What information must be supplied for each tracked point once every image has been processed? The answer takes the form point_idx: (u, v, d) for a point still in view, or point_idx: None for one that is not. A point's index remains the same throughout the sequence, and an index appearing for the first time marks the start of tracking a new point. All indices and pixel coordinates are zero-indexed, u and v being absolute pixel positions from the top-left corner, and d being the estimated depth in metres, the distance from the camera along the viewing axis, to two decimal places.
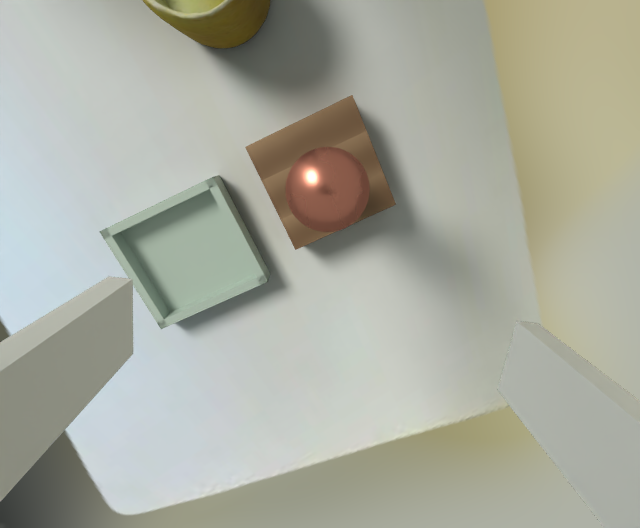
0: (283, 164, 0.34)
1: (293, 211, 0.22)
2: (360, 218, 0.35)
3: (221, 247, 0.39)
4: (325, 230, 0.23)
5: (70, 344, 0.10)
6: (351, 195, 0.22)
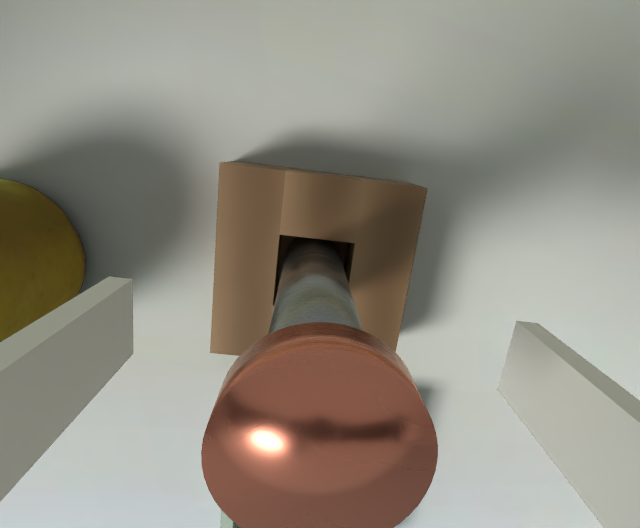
0: (263, 317, 0.20)
1: None
2: (410, 255, 0.20)
3: None
4: (409, 508, 0.08)
5: (71, 344, 0.10)
6: (368, 418, 0.08)
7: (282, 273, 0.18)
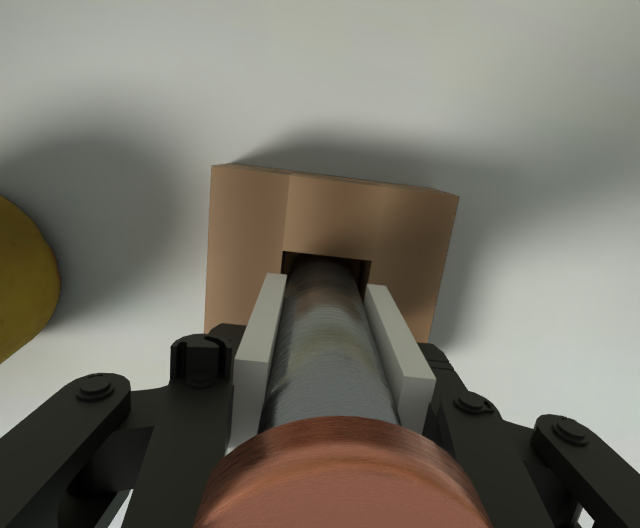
0: None
1: None
2: (438, 275, 0.17)
3: None
4: None
5: (277, 326, 0.12)
6: None
7: (285, 299, 0.15)
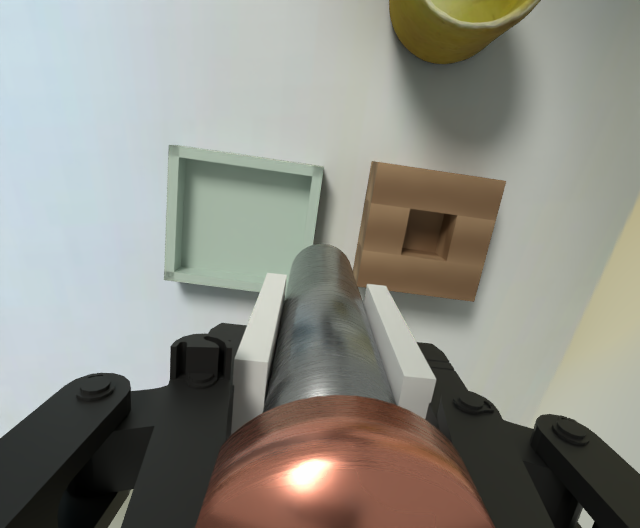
0: (402, 201, 0.30)
1: None
2: (435, 294, 0.32)
3: (278, 235, 0.34)
4: None
5: (277, 326, 0.12)
6: None
7: (287, 294, 0.15)
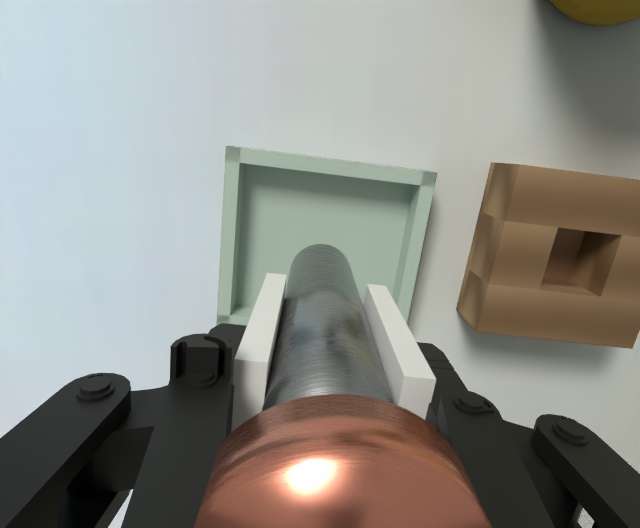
0: (547, 218, 0.22)
1: None
2: (580, 340, 0.24)
3: (363, 263, 0.25)
4: None
5: (277, 326, 0.12)
6: None
7: (286, 294, 0.15)
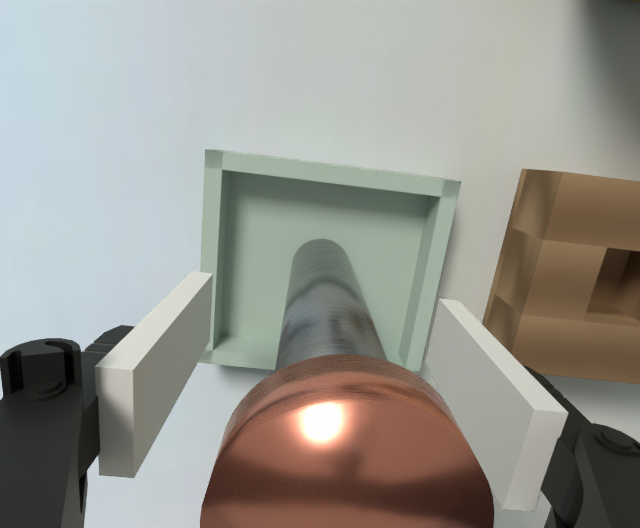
0: (594, 236, 0.18)
1: None
2: (629, 380, 0.20)
3: (370, 286, 0.22)
4: None
5: (182, 329, 0.11)
6: (409, 480, 0.06)
7: (290, 284, 0.16)
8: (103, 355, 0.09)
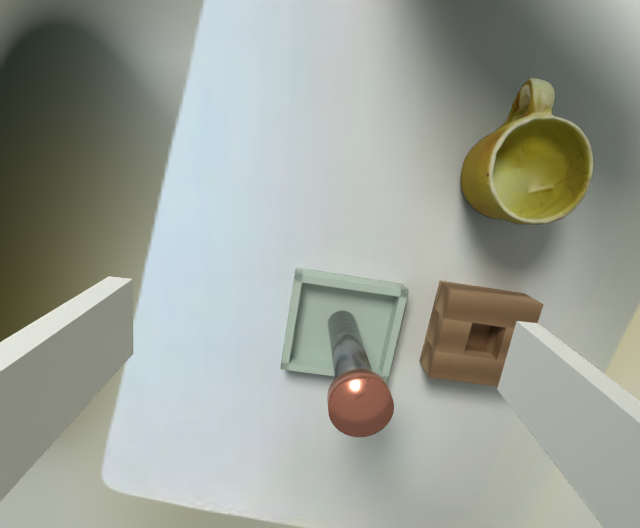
0: (466, 318, 0.41)
1: (358, 435, 0.29)
2: (487, 383, 0.43)
3: (366, 334, 0.44)
4: (385, 424, 0.29)
5: (70, 344, 0.10)
6: (375, 396, 0.28)
7: (332, 337, 0.38)
8: None
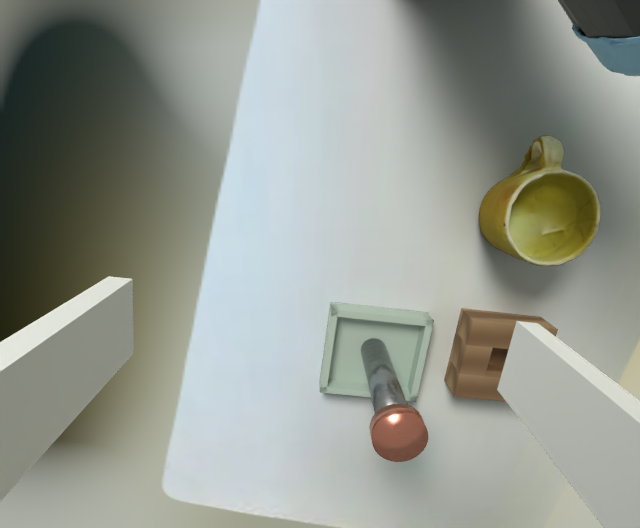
0: (487, 343, 0.45)
1: (398, 460, 0.34)
2: None
3: (395, 358, 0.48)
4: (421, 450, 0.34)
5: (70, 344, 0.10)
6: (411, 428, 0.33)
7: (367, 366, 0.43)
8: None
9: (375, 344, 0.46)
